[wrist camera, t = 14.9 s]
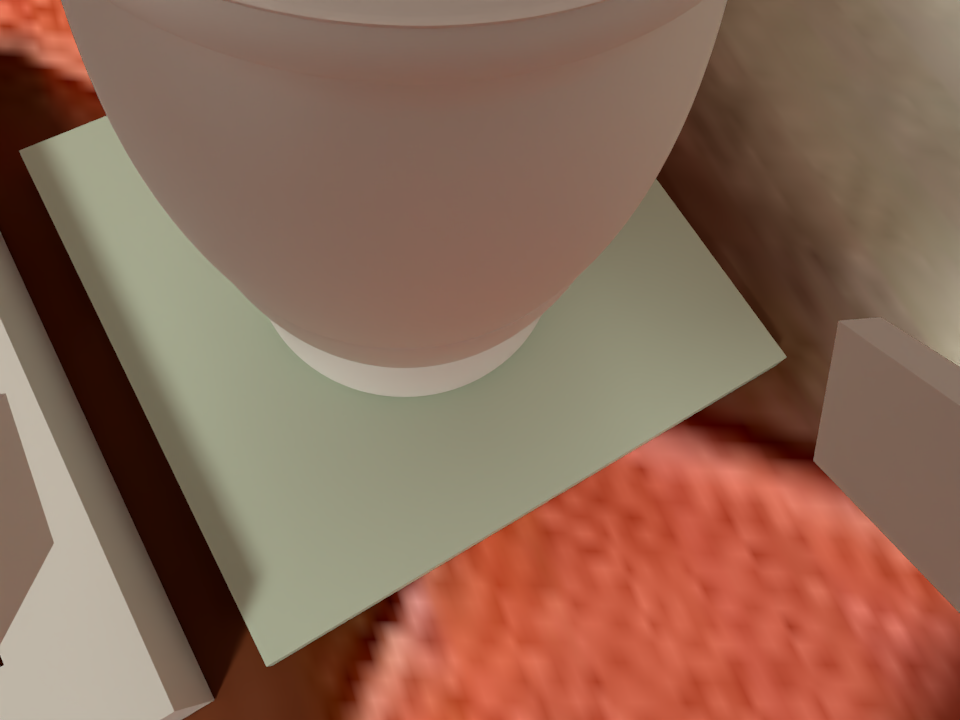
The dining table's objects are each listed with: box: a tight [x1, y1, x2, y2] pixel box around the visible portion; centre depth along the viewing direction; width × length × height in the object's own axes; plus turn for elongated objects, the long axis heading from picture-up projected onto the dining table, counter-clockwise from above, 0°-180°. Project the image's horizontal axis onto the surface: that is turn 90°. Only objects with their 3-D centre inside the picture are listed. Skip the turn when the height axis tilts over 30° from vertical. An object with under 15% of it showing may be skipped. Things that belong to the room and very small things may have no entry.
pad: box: [19, 116, 786, 667], centre depth 23 cm, size 16×16×1 cm
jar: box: [61, 0, 727, 397], centre depth 16 cm, size 11×10×15 cm
